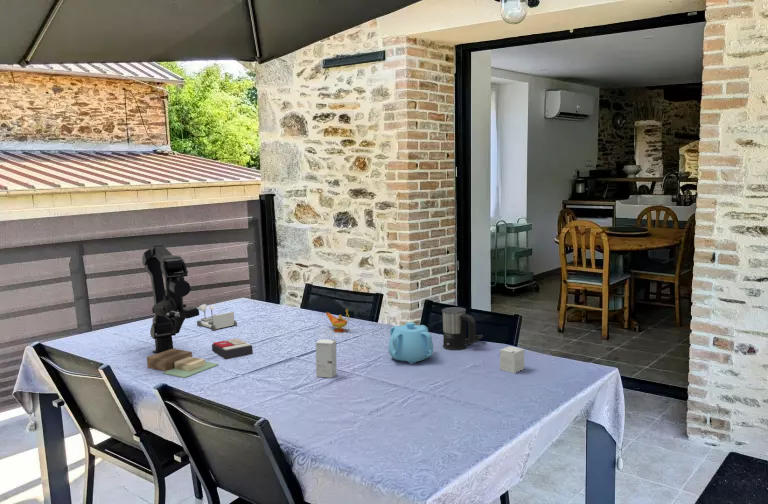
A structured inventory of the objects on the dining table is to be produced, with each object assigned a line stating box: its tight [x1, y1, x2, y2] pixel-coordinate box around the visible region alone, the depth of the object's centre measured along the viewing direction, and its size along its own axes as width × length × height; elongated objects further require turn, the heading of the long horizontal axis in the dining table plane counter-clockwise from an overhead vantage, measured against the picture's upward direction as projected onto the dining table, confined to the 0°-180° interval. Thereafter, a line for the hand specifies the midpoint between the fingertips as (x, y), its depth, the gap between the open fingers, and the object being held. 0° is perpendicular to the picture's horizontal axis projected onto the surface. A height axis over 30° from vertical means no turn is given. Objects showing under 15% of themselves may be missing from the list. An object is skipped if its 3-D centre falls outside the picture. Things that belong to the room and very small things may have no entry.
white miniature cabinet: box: [315, 338, 337, 379], centre depth 213 cm, size 6×4×12 cm
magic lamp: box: [324, 308, 350, 333], centre depth 273 cm, size 7×18×11 cm, turn 40°
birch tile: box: [174, 356, 206, 371], centre depth 226 cm, size 8×7×2 cm
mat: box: [162, 360, 220, 379], centre depth 225 cm, size 11×16×1 cm
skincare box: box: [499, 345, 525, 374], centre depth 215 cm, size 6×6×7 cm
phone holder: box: [196, 303, 238, 332], centre depth 287 cm, size 18×10×12 cm
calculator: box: [211, 338, 254, 360], centre depth 245 cm, size 11×4×15 cm
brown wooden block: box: [146, 348, 193, 372], centre depth 230 cm, size 10×12×4 cm
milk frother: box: [441, 306, 484, 351], centre depth 245 cm, size 14×16×15 cm
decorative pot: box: [388, 321, 434, 364], centre depth 230 cm, size 16×16×14 cm
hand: (177, 333), depth 230 cm, fingers closed
